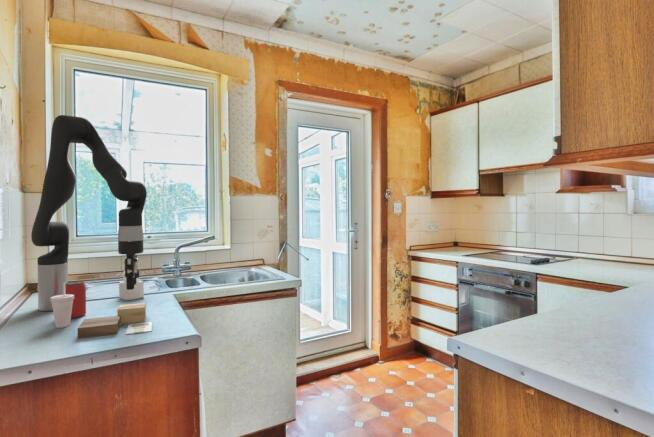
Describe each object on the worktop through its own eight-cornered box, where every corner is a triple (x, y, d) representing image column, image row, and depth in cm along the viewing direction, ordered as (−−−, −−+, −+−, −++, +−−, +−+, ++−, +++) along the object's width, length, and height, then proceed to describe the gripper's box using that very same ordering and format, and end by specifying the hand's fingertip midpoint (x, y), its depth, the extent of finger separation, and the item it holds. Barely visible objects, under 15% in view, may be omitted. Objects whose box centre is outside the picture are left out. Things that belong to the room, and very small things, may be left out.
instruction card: (128, 325, 119) (128, 324, 119) (152, 322, 122) (152, 321, 122) (125, 334, 109) (125, 333, 109) (151, 331, 112) (151, 330, 112)
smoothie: (78, 325, 119) (78, 282, 119) (55, 330, 114) (55, 285, 114) (69, 321, 123) (68, 280, 122) (46, 327, 117) (46, 283, 117)
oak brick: (119, 319, 126) (119, 305, 126) (145, 317, 129) (145, 303, 129) (117, 324, 120) (117, 309, 120) (144, 321, 123) (144, 307, 123)
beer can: (74, 319, 126) (74, 284, 126) (58, 318, 127) (58, 283, 127) (90, 314, 132) (90, 281, 132) (75, 313, 134) (74, 280, 133)
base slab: (84, 328, 116) (84, 319, 116) (120, 324, 120) (120, 315, 120) (77, 338, 106) (77, 328, 106) (116, 333, 110) (116, 323, 110)
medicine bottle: (135, 295, 162) (135, 268, 162) (144, 297, 158) (143, 269, 158) (118, 298, 156) (118, 270, 156) (127, 300, 152) (126, 272, 152)
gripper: (120, 238, 129) (121, 284, 129) (115, 241, 116) (116, 292, 116) (144, 237, 132) (145, 282, 132) (141, 240, 119) (142, 289, 119)
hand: (131, 287), depth 124 cm, fingers open, 8 cm apart
